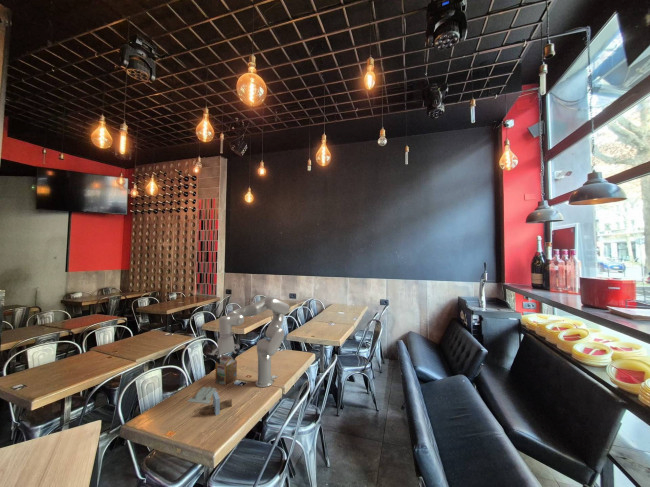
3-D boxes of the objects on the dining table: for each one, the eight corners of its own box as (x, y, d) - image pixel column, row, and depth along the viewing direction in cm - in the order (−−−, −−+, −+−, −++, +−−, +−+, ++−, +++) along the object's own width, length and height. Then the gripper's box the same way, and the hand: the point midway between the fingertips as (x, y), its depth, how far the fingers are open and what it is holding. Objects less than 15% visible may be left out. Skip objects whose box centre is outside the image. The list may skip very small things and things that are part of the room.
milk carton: (236, 379, 197) (236, 354, 198) (225, 386, 187) (225, 359, 188) (226, 377, 201) (226, 352, 202) (215, 382, 192) (215, 356, 193)
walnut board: (231, 405, 162) (231, 398, 162) (231, 406, 161) (231, 399, 161) (199, 414, 153) (199, 407, 153) (199, 416, 152) (199, 409, 152)
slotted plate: (212, 407, 161) (212, 392, 161) (216, 406, 162) (216, 391, 162) (215, 415, 152) (215, 399, 153) (219, 414, 153) (219, 398, 154)
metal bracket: (200, 383, 179) (219, 385, 176) (201, 391, 181) (221, 392, 178) (185, 400, 166) (207, 403, 163) (187, 408, 167) (208, 410, 164)
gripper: (237, 331, 179) (238, 356, 179) (210, 336, 169) (211, 363, 169) (240, 333, 173) (241, 359, 173) (212, 339, 163) (213, 367, 163)
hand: (226, 361), depth 171 cm, fingers open, 9 cm apart
